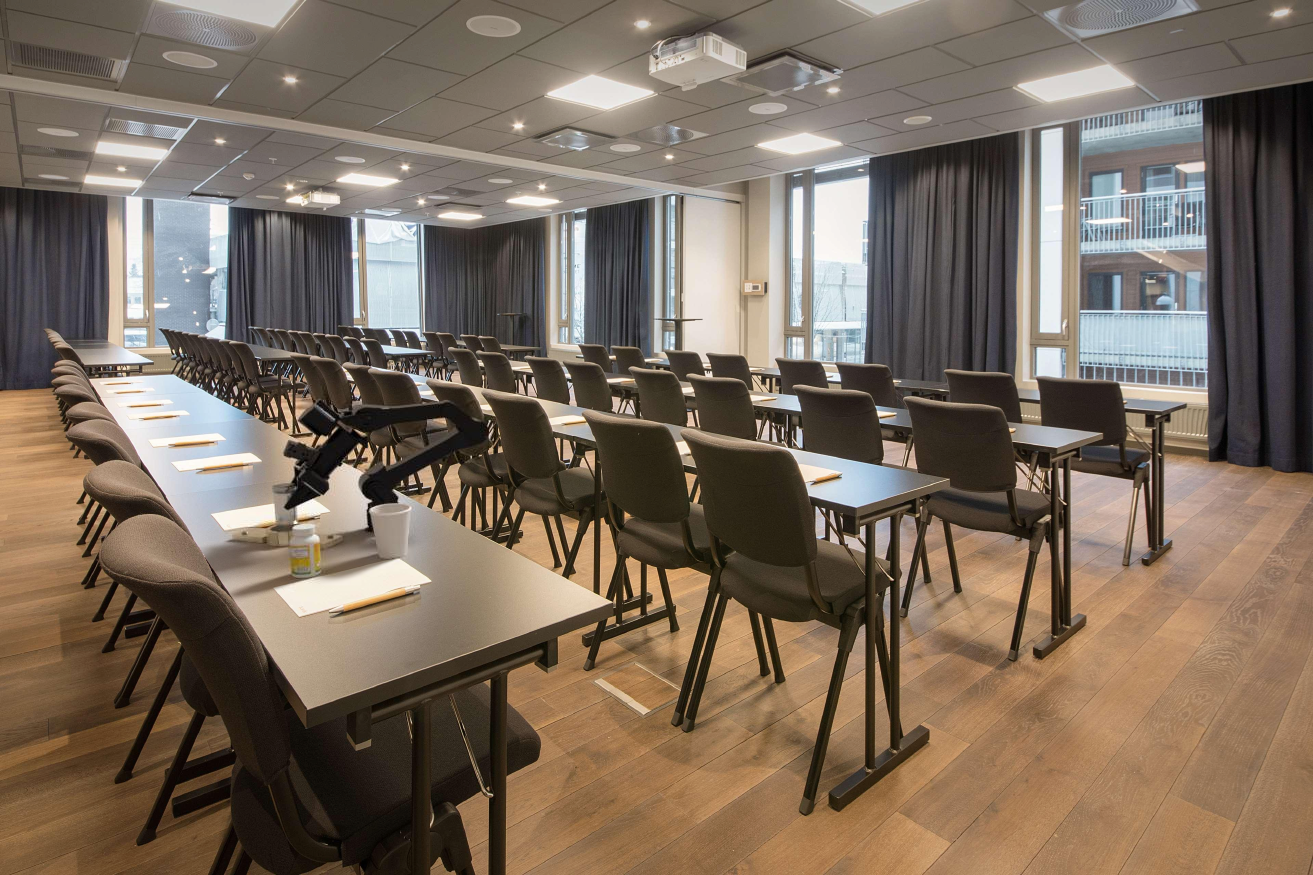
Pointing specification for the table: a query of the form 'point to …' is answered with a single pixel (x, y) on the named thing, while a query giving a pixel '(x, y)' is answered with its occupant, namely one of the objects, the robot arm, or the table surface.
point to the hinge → (281, 537)
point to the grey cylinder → (283, 516)
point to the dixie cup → (391, 529)
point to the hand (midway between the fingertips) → (284, 504)
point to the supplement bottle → (305, 551)
